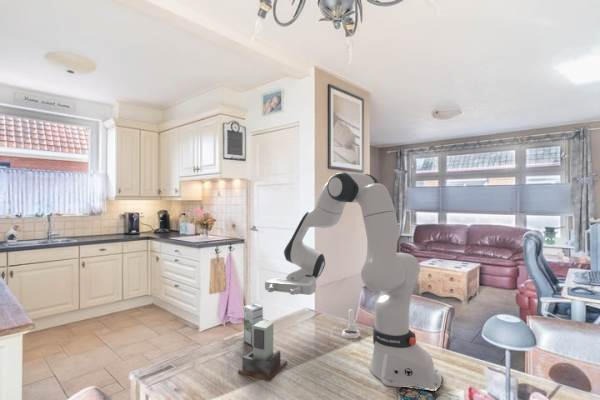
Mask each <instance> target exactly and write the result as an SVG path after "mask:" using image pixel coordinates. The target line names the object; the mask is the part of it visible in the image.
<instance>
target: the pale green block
mask: <svg viewBox="0 0 600 400" xmlns="http://www.w3.org/2000/svg"><path fill="white" fill-rule="evenodd" d="M252 351H253V358H255V359H259V360H263V361H267V360H268V359H269V358H270V357H271V356H272V355H273V354H274V322H271V321H266V320H263V321H259V322H258V323H256V324H255V325H253V346H252Z"/></svg>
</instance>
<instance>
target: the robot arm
mask: <svg viewBox="0 0 600 400" xmlns="http://www.w3.org/2000/svg"><path fill="white" fill-rule="evenodd" d="M389 192H390V191H389V190H388V188H387V187H386V185H384V184H382V183H380V182H379V180H378V179H377V178H376V177H375V176H373V175H371V174H369V173H359V172H354V171H352V172H351V171H350V172H344V171H343V172H342V171H341V172H337V173H335V174H332V175H331V176H330V177H329V179H328V180H327V182H326V183H325V185H324V186H323V187H322V189H321V192H320V193H319V196H318V199H317V200H316V205H315V206H314V207H313V209H312V210H307V211H306V212H305V214H304V215H303V216H302V218H301V220H300V221H299V223H298V225H297V226H296V228H295V231H294V233H293V234H292V237H291V239H290V240H289V241H288V243H287V244H286V247H285V248H284V250H283V254H284V257H285V260H286V261H287V262H289V263H291V264H294V265H295V266H298V267H299V268H298V269H297V270H295V271H293V272H291V273H289V274H288V275H287V276H286V277H285V278H277V277H275V278H274V277H273V278H270V279H268V280H265V281H264V289H265V291H267V292H268V293H273V292H276V293H277V292H278V293H279V292H280V293H288V294H290V295H293V296H295V295H311V296H312V295H313V294H314V293H315V292H316V287H317V284H316V282H317V281H318V278H319V277H320V276H321V274H322V273H323V271H324V269H325V266H326V261H325V260H326V259H325V256H324V254H323V253H321V252H320V251H318V250H316V249H315V248H313V247H310V246H308V245H307V244H305V243H304V242H303V240H304V238H305V236H306V234H307V232H308V231H309V228H322V229H325V228H331V227H333V226H334V227H335V225H337V224H338V223H339V221H340V219H341V217H342V215H343V212H344V209H345V207H346V204H347V203H357V204H358V205H359V206H360V208H361V213H362V215H361V216H362V218H363V224H364V229H365V232H366V241H367V246H366V247H367V248H366V256H365V257H366V259H365V261H364V263H363V265H362V267H361V270H360V276H361V277H360V278H361V281H362V283H363V285H364V286H365V288H367V289H369V291H372V292H377V293H378V292H379V295H378V297H377V299H376V301H375V304H374V326H373V328H372V341H373V349H372V358H371V362H370V364H369V370H370V372H371V374H372V375H373V376H374V377H376V378H377V379H379V380H380V381H381V382H382V384H383V385H385V386H388V387H394V388H401V386H408V385H410V386H417V387H424V388H429V389H434V388H435V387H437V388H438V387H439V386H440V385H441V386H442V384H441V382H442V383H443V381H442V380H443V379H442V377H443V376H442V373H441V371H440V370H439V369H438V368H437V367H436V366H434V362H433V358H432V356H431V355H430V353H429V352H428V351H426V350H425V349H424V348H423V347H421V346H420V345H419V344H418V343H417V339H416V332H415V330H413V331H412V330H410V306H411V302H412V301H411V300H412V295H413V292H414V287H415V283H416V281H417V278H418V276H419V274H420V272H421V264H420V262H419V260H418V259H417V257H416V256H414V255H413V254H410V253H407V252H397V251H398V241H399V238H400V236H401V231H400V226H399V222H398V218H397V214H396V209H395V206H394V203H393V200H392V197H391V195H390V193H389Z"/></svg>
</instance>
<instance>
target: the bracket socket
mask: <svg viewBox="0 0 600 400" xmlns="http://www.w3.org/2000/svg"><path fill="white" fill-rule="evenodd" d="M286 365H288V361H287V360H285V359H281V350H277V351H276V352H274V353H273V355H272V356H271V357H270V358H269V359H268V360H267V361H263V360H259V359H255V358H253V350H251V351H250V352H249V353H248V354H246V355H243V356H242V366H241V367H240V368H238V370H237V372H238V374H241V375H244V376H248V377H251V378H255V379H258V380H263V381H265V382H271V381H272V380H273V379H274V378H275V377H276V376H277V375H278V374H279V373H280V372H281V371H282V369H284V367H285V366H286Z"/></svg>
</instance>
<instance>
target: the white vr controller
mask: <svg viewBox="0 0 600 400" xmlns="http://www.w3.org/2000/svg"><path fill="white" fill-rule="evenodd" d="M358 328H359V326H358V324H357V323H355V311H354V309H351V308H349V309H348V325H347V328H344V329H343V330H342V333H341V335H342V337H344V338H346V339H349V338H351V339H352V338H355V339H359V338H360V337H361V333H360V331H359V330H358ZM348 332H353V333H348ZM359 336H360V337H359ZM358 337H359V338H358ZM351 339H350V340H351Z"/></svg>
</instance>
